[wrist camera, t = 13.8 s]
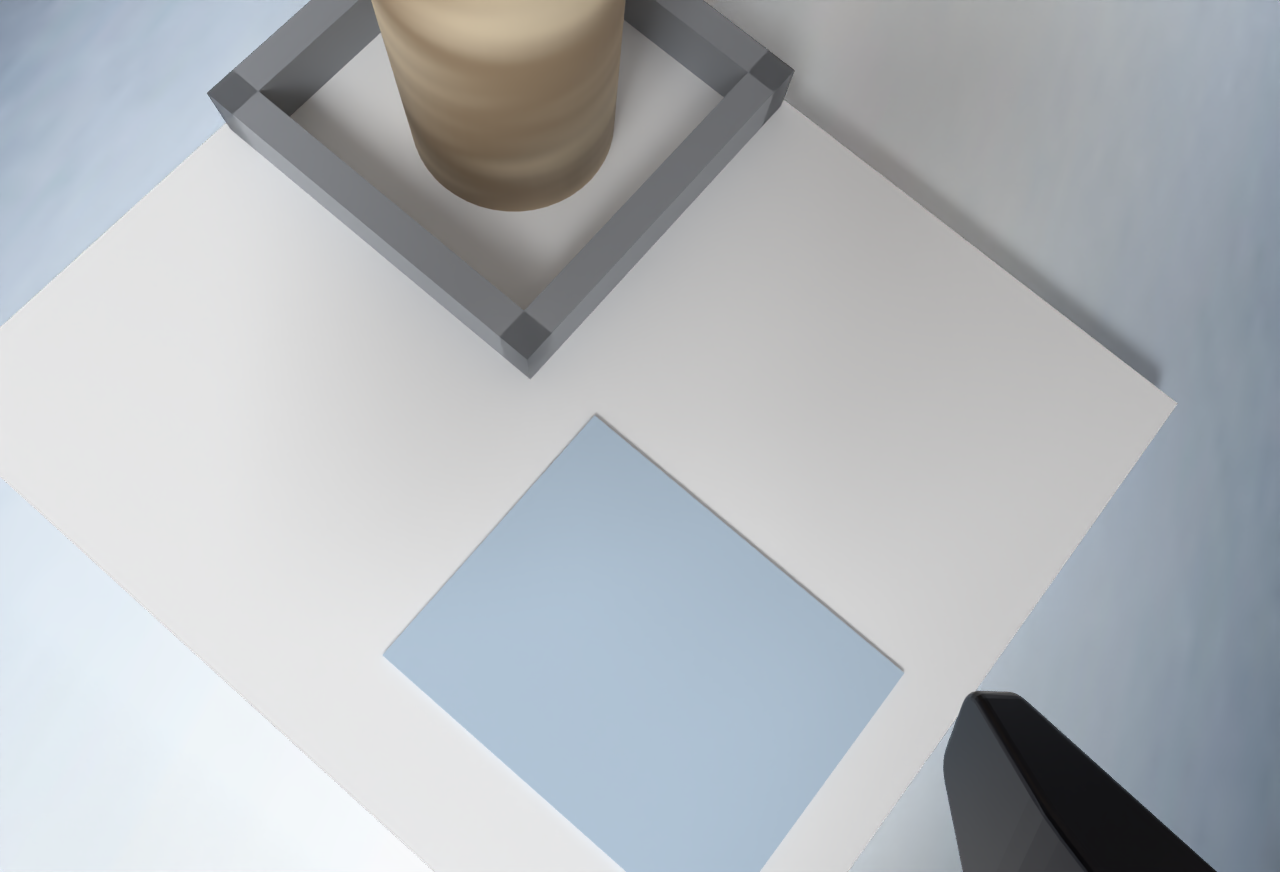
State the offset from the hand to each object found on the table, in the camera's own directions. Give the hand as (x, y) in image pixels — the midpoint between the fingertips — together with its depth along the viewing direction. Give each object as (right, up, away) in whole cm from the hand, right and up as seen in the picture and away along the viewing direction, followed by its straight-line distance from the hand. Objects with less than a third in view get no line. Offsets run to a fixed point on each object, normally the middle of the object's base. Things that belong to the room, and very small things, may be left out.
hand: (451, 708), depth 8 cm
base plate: (0, +3, +15) cm, 15 cm away
